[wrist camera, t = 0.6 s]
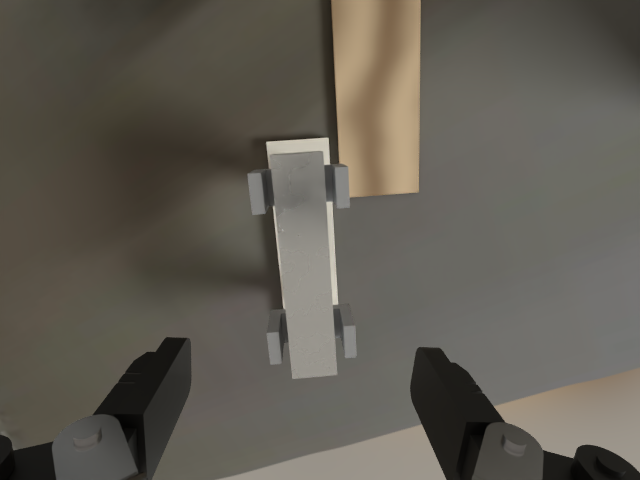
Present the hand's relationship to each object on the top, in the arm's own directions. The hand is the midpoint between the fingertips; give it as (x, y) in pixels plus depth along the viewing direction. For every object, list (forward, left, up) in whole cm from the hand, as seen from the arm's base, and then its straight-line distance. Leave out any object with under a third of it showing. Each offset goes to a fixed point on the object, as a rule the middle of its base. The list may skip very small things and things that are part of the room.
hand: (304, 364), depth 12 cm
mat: (-8, -11, -25) cm, 29 cm away
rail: (0, +2, -16) cm, 16 cm away
